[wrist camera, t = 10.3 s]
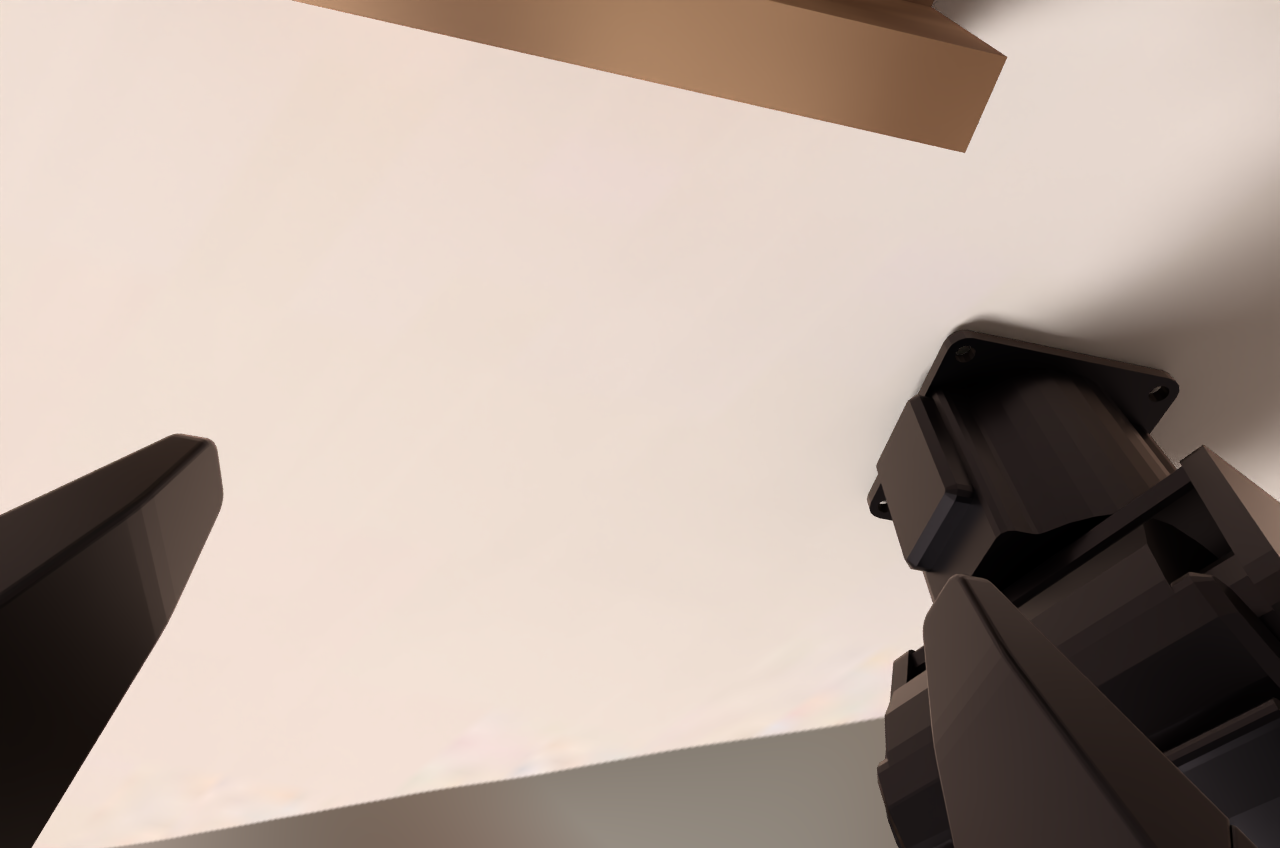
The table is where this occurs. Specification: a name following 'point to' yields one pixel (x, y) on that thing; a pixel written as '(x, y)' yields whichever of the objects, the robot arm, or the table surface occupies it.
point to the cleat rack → (749, 52)
